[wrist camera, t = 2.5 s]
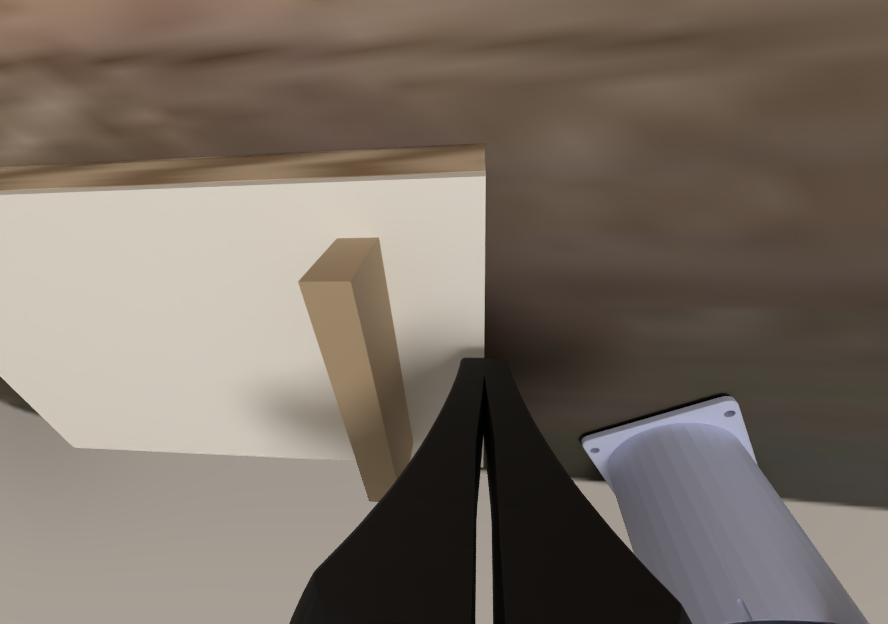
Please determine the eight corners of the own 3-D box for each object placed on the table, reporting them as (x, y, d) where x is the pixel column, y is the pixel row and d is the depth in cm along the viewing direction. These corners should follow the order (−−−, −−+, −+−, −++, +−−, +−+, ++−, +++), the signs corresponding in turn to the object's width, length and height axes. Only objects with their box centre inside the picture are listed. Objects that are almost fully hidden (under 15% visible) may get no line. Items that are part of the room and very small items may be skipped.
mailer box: (484, 143, 13) (485, 170, 9) (483, 383, 19) (483, 454, 16) (5, 166, 15) (-151, 196, 11) (152, 375, 21) (84, 437, 18)
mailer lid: (485, 171, 9) (487, 208, 6) (483, 457, 16) (483, 529, 13) (-155, 197, 11) (-340, 231, 9) (83, 438, 18) (18, 497, 15)
